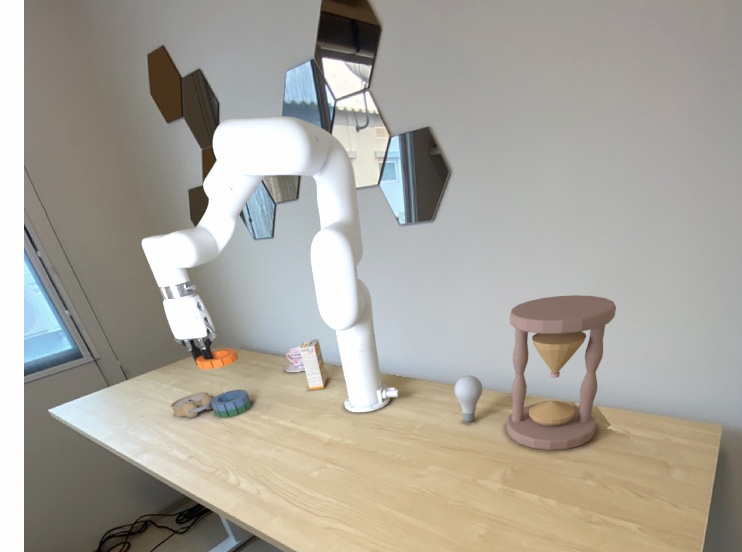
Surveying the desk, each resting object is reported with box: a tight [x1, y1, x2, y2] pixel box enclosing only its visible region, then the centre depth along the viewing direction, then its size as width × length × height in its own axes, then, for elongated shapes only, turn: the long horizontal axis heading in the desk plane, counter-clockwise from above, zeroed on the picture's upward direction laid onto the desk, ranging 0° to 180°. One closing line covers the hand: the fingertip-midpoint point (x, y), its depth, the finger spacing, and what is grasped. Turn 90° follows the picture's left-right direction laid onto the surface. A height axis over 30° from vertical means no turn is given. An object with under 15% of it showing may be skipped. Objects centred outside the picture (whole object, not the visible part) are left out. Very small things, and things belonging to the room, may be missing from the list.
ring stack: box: [211, 389, 252, 418], centre depth 122 cm, size 11×11×4 cm
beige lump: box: [170, 392, 214, 419], centre depth 125 cm, size 11×5×15 cm
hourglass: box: [506, 294, 617, 451], centre depth 81 cm, size 18×18×25 cm
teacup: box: [284, 345, 305, 373], centre depth 146 cm, size 12×12×6 cm
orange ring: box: [195, 348, 239, 370], centre depth 112 cm, size 11×11×2 cm
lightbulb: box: [454, 375, 483, 423], centre depth 93 cm, size 6×6×11 cm
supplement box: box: [300, 338, 328, 390], centre depth 127 cm, size 8×5×13 cm, turn 179°
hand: (205, 362), depth 113 cm, fingers closed on orange ring, 2 cm apart
